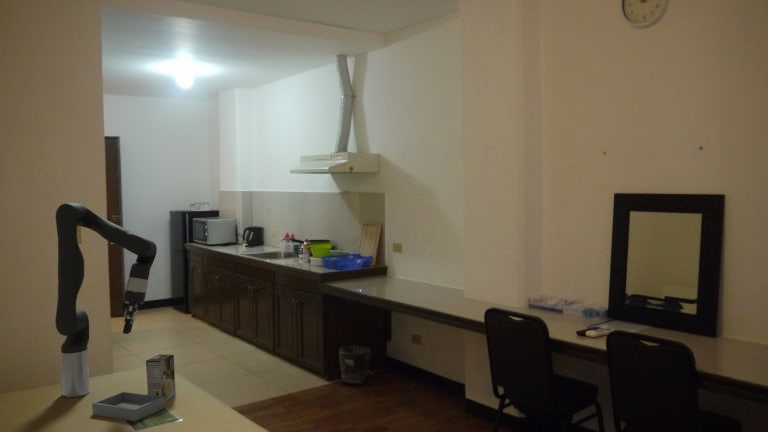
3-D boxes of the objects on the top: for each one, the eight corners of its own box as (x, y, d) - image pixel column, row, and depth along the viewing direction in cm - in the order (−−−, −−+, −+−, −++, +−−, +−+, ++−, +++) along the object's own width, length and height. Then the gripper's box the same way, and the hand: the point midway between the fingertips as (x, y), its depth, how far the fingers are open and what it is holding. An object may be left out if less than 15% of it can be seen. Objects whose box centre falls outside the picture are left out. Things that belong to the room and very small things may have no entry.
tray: (92, 414, 216) (92, 403, 216) (123, 401, 229) (123, 391, 229) (135, 421, 208) (134, 409, 208) (164, 407, 221) (164, 396, 221)
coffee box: (161, 394, 235) (159, 353, 235) (176, 395, 234) (174, 354, 234) (147, 403, 226) (145, 360, 226) (162, 403, 225) (161, 360, 225)
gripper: (127, 289, 239) (118, 330, 236) (123, 288, 225) (114, 332, 222) (147, 292, 241) (138, 333, 238) (145, 291, 227) (135, 335, 225)
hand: (126, 333), depth 230 cm, fingers open, 8 cm apart
